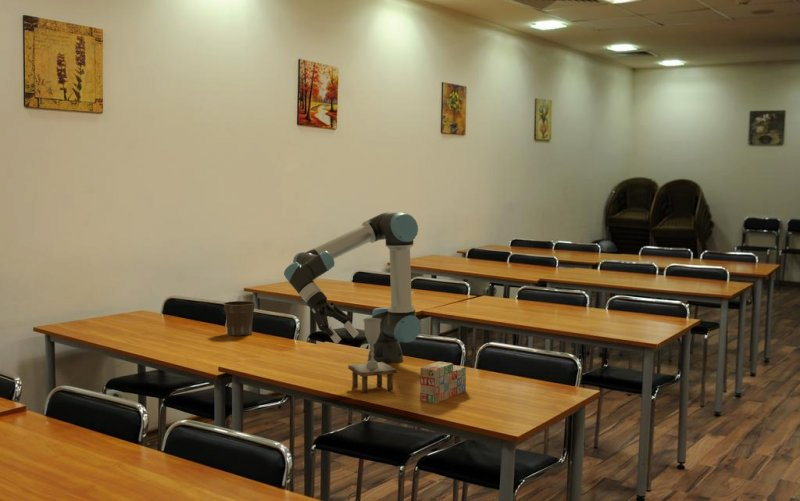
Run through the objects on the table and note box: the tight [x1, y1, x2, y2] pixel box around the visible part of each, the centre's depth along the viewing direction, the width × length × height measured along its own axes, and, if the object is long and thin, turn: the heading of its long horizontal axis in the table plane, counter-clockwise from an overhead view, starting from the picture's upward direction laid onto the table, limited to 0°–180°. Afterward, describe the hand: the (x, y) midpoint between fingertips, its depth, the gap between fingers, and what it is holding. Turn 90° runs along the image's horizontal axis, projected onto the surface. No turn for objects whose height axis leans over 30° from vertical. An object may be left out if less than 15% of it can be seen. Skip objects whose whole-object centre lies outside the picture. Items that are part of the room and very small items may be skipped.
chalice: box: [362, 317, 381, 369], centre depth 299 cm, size 7×7×18 cm
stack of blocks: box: [419, 361, 467, 404], centre depth 290 cm, size 21×6×12 cm, turn 145°
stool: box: [347, 362, 398, 394], centre depth 300 cm, size 14×14×8 cm
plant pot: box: [223, 300, 256, 337], centre depth 409 cm, size 16×16×16 cm
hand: (347, 338), depth 304 cm, fingers open, 13 cm apart
